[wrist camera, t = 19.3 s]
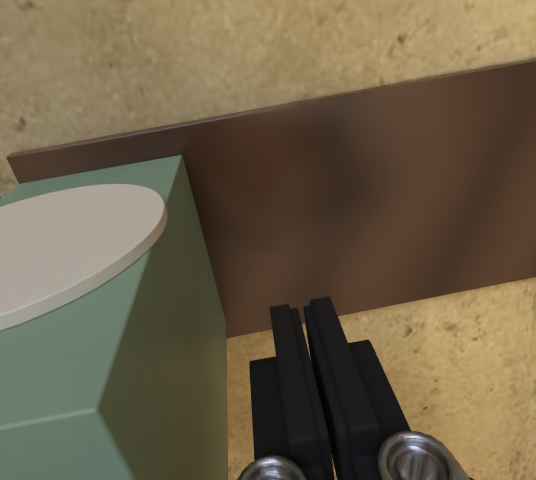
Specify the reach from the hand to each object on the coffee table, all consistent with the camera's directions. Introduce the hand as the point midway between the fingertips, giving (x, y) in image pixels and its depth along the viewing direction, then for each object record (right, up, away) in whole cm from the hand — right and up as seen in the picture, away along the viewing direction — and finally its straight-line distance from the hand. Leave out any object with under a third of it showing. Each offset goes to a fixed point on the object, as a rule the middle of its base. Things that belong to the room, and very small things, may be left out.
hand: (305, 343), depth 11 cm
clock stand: (+1, +4, +6) cm, 7 cm away
